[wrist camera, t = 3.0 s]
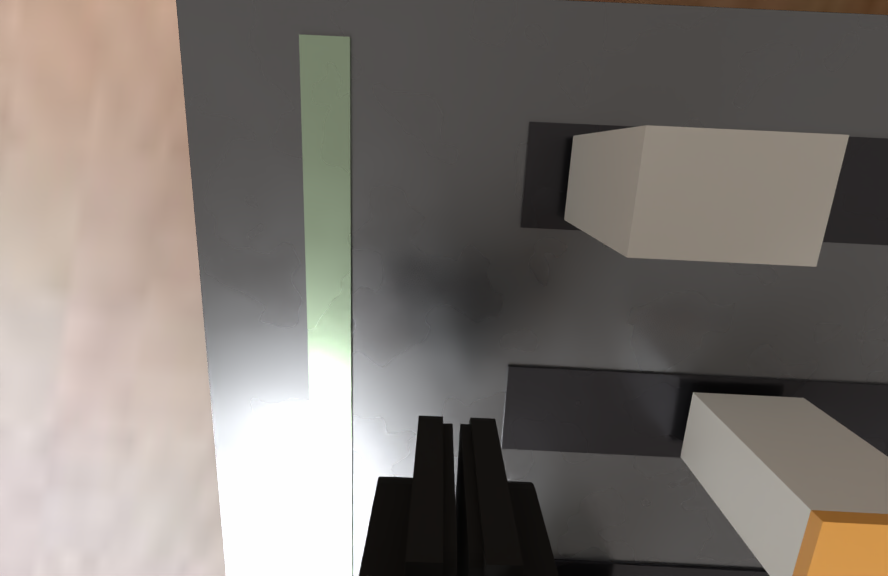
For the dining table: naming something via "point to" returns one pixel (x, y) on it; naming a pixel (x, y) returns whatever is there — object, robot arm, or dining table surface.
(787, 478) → the block
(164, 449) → the dining table surface
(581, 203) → the block
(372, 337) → the panel
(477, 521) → the robot arm
